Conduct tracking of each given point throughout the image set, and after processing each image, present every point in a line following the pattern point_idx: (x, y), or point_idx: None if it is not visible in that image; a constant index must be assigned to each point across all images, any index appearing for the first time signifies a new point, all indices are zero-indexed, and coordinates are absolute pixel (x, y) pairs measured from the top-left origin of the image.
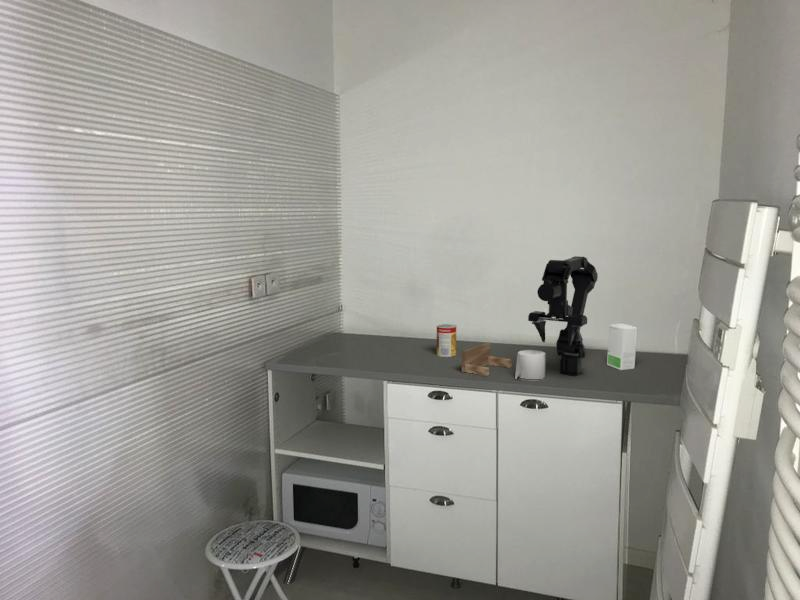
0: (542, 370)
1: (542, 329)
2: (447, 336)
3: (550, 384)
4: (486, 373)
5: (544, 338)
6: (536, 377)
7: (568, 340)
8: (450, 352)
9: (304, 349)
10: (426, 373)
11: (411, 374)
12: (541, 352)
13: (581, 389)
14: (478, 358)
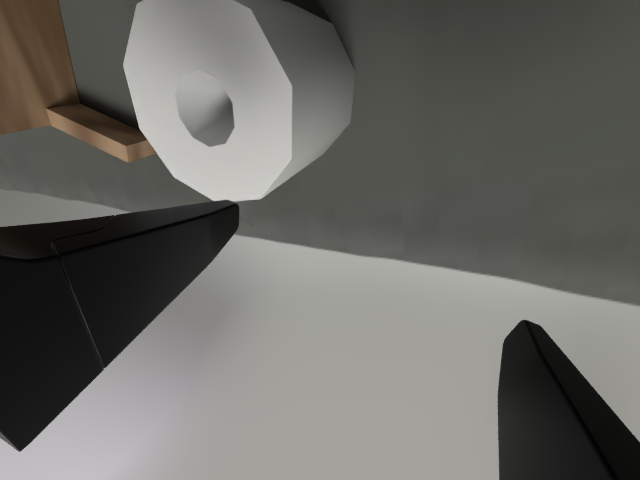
0: (331, 135)
1: (112, 317)
2: None
3: (395, 207)
4: (144, 155)
5: (214, 232)
6: (320, 155)
7: (499, 411)
8: None
9: None
10: (31, 159)
11: (23, 179)
12: (256, 67)
13: (551, 265)
14: (6, 7)
